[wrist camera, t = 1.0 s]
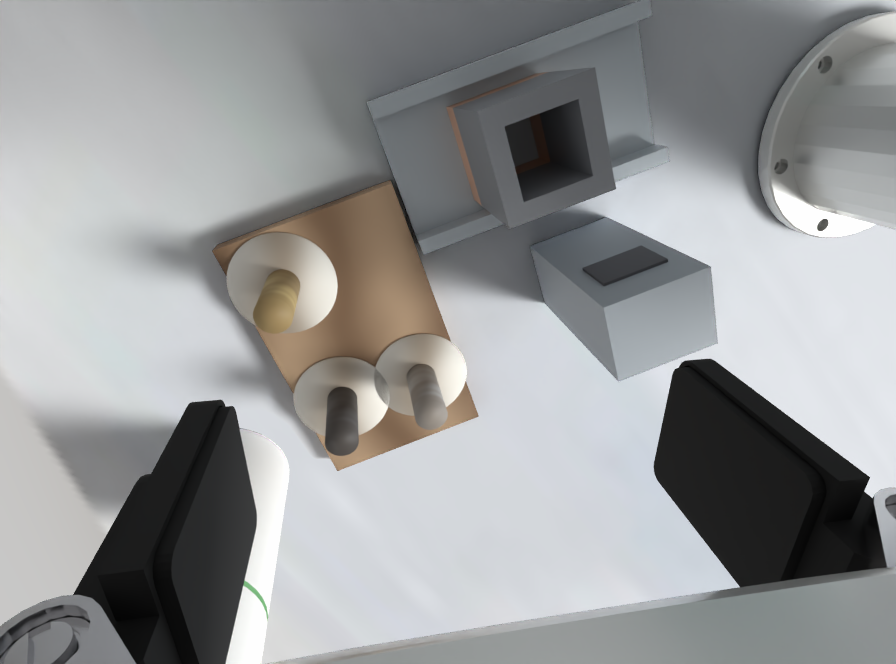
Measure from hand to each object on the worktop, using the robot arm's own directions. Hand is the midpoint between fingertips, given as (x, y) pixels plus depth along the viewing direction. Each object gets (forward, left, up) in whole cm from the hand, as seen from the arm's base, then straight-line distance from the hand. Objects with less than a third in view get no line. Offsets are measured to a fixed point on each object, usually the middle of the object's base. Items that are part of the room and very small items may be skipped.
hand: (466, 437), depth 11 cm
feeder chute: (-8, -2, -20) cm, 22 cm away
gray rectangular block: (-10, +6, -20) cm, 23 cm away
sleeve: (-7, -2, -20) cm, 21 cm away
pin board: (+4, +6, -20) cm, 22 cm away
